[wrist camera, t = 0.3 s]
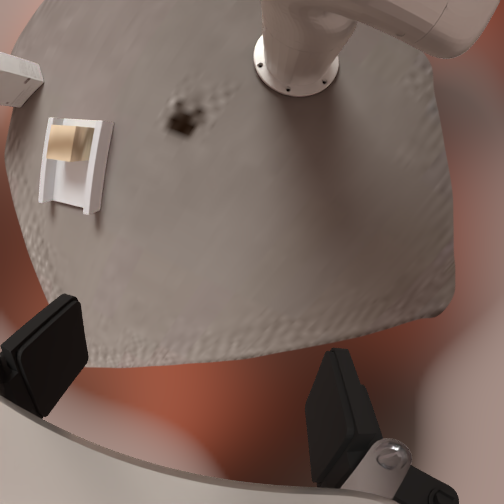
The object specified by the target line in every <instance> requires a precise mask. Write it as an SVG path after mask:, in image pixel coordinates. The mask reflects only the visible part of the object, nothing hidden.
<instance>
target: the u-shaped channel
mask: <svg viewBox="0 0 504 504" xmlns="http://www.w3.org/2000/svg"><path fill="white" fill-rule="evenodd" d="M51 125H66V126H80V127H90V128H95V129H94V134H93V139H92V145H91V150H90V156H89V160H85V161H74V162H68V161H61V160H54V159H47V158H46V155H47V148H48V142H49V136H50V130H51ZM113 126H114V122H108V121H102V120H96V121H94V120H81V119H64V118H53V117H49V120H48V125H47V131H46V137H45V143H44V150H43V157H42V166H41V175H40V186H39V202H40V203H45V202H49V201H52V200H53V201H58V202H62V203H66V204H70V205H74V206H78V207H82V208H83V214H87V215H89V214H92V213H95V212H97V211H100V208H101V199H102V191H103V183H104V176H105V170H106V163H107V157H108V151H109V146H110V141H111V136H112V131H113Z"/></svg>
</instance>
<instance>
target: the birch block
mask: <svg viewBox="0 0 504 504" xmlns="http://www.w3.org/2000/svg"><path fill="white" fill-rule="evenodd" d="M94 129H95V128H90V127H80V126H66V125H51V130H50V136H49V142H48V148H47V155H46V158H47V159H54V160H61V161H68V162H74V161H85V160H89V156H90V150H91V145H92V139H93V134H94Z"/></svg>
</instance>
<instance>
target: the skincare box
mask: <svg viewBox="0 0 504 504" xmlns="http://www.w3.org/2000/svg"><path fill="white" fill-rule="evenodd" d="M43 83H44V80H43V77H42V74H41V70H40V67H39V64H37V63H34V62H31V61H28V60H25V59H22V58H19V57H16V56H13V55H9V54H6V53H3V52H0V105H5V106H12V107H21V106H22V105H23V104H24V103H25V101H26V100H27V99H28V98H29V97H30V96H31V95H32V94H33V93H34V92H35V91H36V90H37V89H38V88H39V87H40V86H41V85H42V84H43Z"/></svg>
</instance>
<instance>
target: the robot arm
mask: <svg viewBox="0 0 504 504" xmlns="http://www.w3.org/2000/svg"><path fill="white" fill-rule="evenodd" d="M260 1H261V13H262V30H263V35H261V37H260V38H259V39H258V41H257V43H256V45H255V48H254V53H253V59H254V66H255V69H256V71H257V74H258V75H259V77H260V78H261V80H262V81H263V82H264V83H265V84H266V85H267V86H269V87H270V88H272V89H273V90H275V91H277V92H279V93H281V94H284V95H288V96H294V97H306V96H310V95H314V94H316V93H319V92H321V91H322V90H324V89H325V88H327V87H328V86H329V85H330V84H331V82H332V81H333V80H334V78H335V76H336V74H337V72H338V67H339V57H338V54H339V52H340V51H341V50H342V48H343V47H344V45H345V44H346V42H347V41H348V40H349V38H350V37H351V35H352V34H353V32H354V31H355V28H356V26H357V22H358V21H359V22H361V23H364V24H366V25H368V26H371V27H373V28H375V29H378V30H380V31H382V32H384V33H386V34H388V35H390V36H393V37H395V38H397V39H399V40H401V41H403V42H405V43H407V44H409V45H411V46H412V47H414V48H416V49H418V50H420V51H422V52H424V53H427V54H429V55H432V56H434V57H437V58H443V59H449V58H454V57H457V56H459V55H461V54H463V53H464V52H466V51H467V50H468V49H469V48H470V47H471V46H472V45H473V44H474V43H475V42H476V40H477V39H478V38H479V36H480V35H481V34H482V32H483V31H484V29H485V27H486V26H487V24H488V22H489V20H490V19H491V17H492V15H493V13H494V11H495V10H496V8H497V6H498V4H499V2H500V0H260ZM259 66H262V68H259ZM322 82H325V84H323V83H322ZM287 89H289V90H290V91H289V92H288V91H286V90H287ZM1 349H2V352H1V353H0V504H459V499H458V495H457V493H456V491H455V490H454V489H453V488H452V487H450V486H449V485H447V484H445V483H443V482H441V481H439V480H437V479H435V478H433V477H431V476H430V475H428V474H426V473H424V472H422V471H420V470H419V469H417V468H415V467H413V466H412V465H411V462H412V455H411V453H410V450H409V449H408V448H407V447H406V445H405V444H403V443H402V442H400V441H398V440H395V439H389V438H387V439H383V437H382V434H381V431H380V428H379V425H378V422H377V419H376V416H375V413H374V410H373V407H372V404H371V401H370V398H369V395H368V393H367V390H366V388H365V386H364V385H361V384H360V381H359V378H358V376H357V373H356V370H355V367H354V364H353V361H352V359H351V356H350V353H349V351H348V349H341V348H332V349H331V351H326V353H325V355H324V357H323V360H322V363H321V365H320V368H319V371H318V373H317V376H316V379H315V381H314V384H313V386H312V389H311V391H310V394H309V396H308V399H307V401H306V405H305V414H306V424H307V432H308V442H309V453H310V464H311V474H312V481H313V482H317V487H297V486H278V485H267V484H258V483H249V482H240V481H233V480H226V479H220V478H214V477H208V476H203V475H198V474H193V473H189V472H184V471H180V470H175V469H172V468H168V467H164V466H160V465H156V464H153V463H150V462H146V461H142V460H140V459H136V458H133V457H130V456H127V455H124V454H121V453H118V452H115V451H113V450H110V449H107V448H105V447H102V446H100V445H97V444H94V443H92V442H90V441H87V440H85V439H83V438H80V437H78V436H76V435H74V434H71V433H69V432H67V431H65V430H63V429H61V428H59V427H57V426H55V425H53V424H51V423H48V422H47V421H45V420H43V419H42V418H43V417H46V416H48V414H49V413H50V412H51V410H52V409H53V408H54V406H55V405H56V404H57V402H58V401H59V399H60V398H61V397H62V395H63V394H64V393H65V391H66V390H67V389H68V387H69V386H70V385H71V383H72V382H73V381H74V379H75V378H76V377H77V375H78V374H79V373H80V371H81V370H82V369H83V368H84V366H85V365H86V364H87V361H88V351H87V345H86V339H85V333H84V326H83V319H82V311H81V304H80V302H78V299H77V298H76V297H74V296H71V295H67V294H62V295H61V296H59V297H58V298H57V299H55V300H54V301H53V302H52V303H50V304H49V305H48V306H47V307H46V308H44V309H43V310H42V311H40V312H39V313H38V314H37V315H36V316H34V317H33V318H32V319H31V320H30V321H28V322H27V323H26V324H25V325H23V326H22V327H21V328H20V329H19V330H18V331H16V332H15V333H14V334H13V335H12V336H11V337H9V338H8V339H7V340H6V341H5V342H4V343H3V344H2V345H1Z"/></svg>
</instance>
